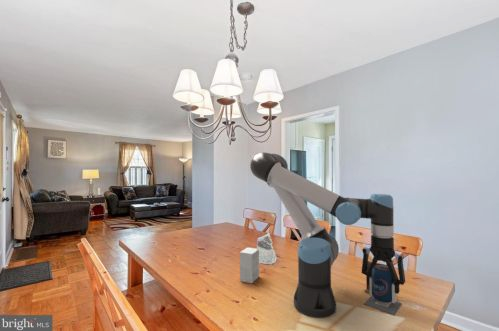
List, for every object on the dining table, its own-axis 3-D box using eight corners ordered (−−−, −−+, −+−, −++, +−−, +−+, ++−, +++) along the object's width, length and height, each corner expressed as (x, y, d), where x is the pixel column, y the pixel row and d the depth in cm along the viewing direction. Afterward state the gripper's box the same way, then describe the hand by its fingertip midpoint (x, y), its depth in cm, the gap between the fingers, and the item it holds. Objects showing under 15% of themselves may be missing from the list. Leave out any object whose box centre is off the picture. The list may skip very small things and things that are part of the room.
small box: (246, 274, 118) (247, 247, 118) (259, 276, 115) (259, 248, 116) (239, 281, 110) (239, 251, 111) (252, 283, 108) (252, 253, 108)
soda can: (369, 299, 91) (369, 266, 92) (376, 292, 96) (375, 261, 96) (390, 306, 86) (389, 271, 87) (395, 299, 91) (395, 266, 91)
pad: (394, 315, 84) (394, 313, 84) (364, 304, 91) (364, 302, 91) (401, 304, 91) (401, 302, 91) (372, 295, 98) (372, 293, 98)
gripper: (415, 238, 88) (416, 303, 87) (358, 229, 101) (358, 285, 101) (411, 243, 82) (412, 312, 82) (351, 232, 96) (351, 292, 95)
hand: (382, 297), depth 91 cm, fingers closed on soda can, 7 cm apart
